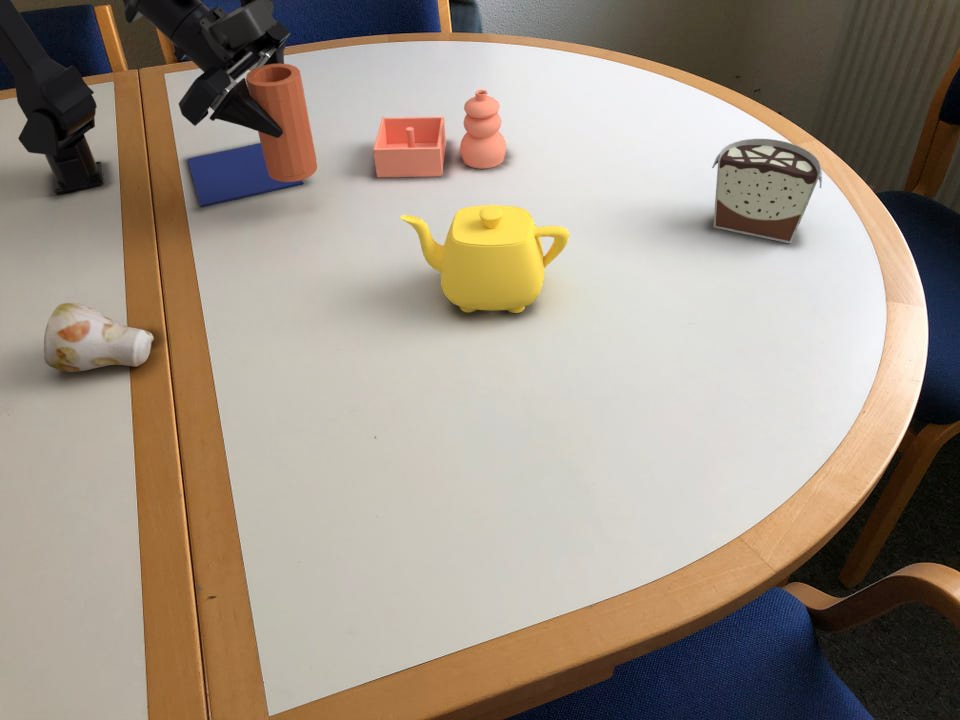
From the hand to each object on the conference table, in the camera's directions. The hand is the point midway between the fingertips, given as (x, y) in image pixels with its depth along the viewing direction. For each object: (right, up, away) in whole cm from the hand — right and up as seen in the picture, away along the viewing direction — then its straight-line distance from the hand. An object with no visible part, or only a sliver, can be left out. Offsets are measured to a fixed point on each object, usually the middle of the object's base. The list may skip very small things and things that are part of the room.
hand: (292, 122), depth 96 cm
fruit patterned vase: (-17, -29, -12) cm, 35 cm away
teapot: (+24, -21, -6) cm, 32 cm away
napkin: (-11, -2, +16) cm, 20 cm away
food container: (+57, -12, +3) cm, 59 cm away
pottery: (+18, 0, +17) cm, 25 cm away
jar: (-1, -5, +5) cm, 7 cm away
